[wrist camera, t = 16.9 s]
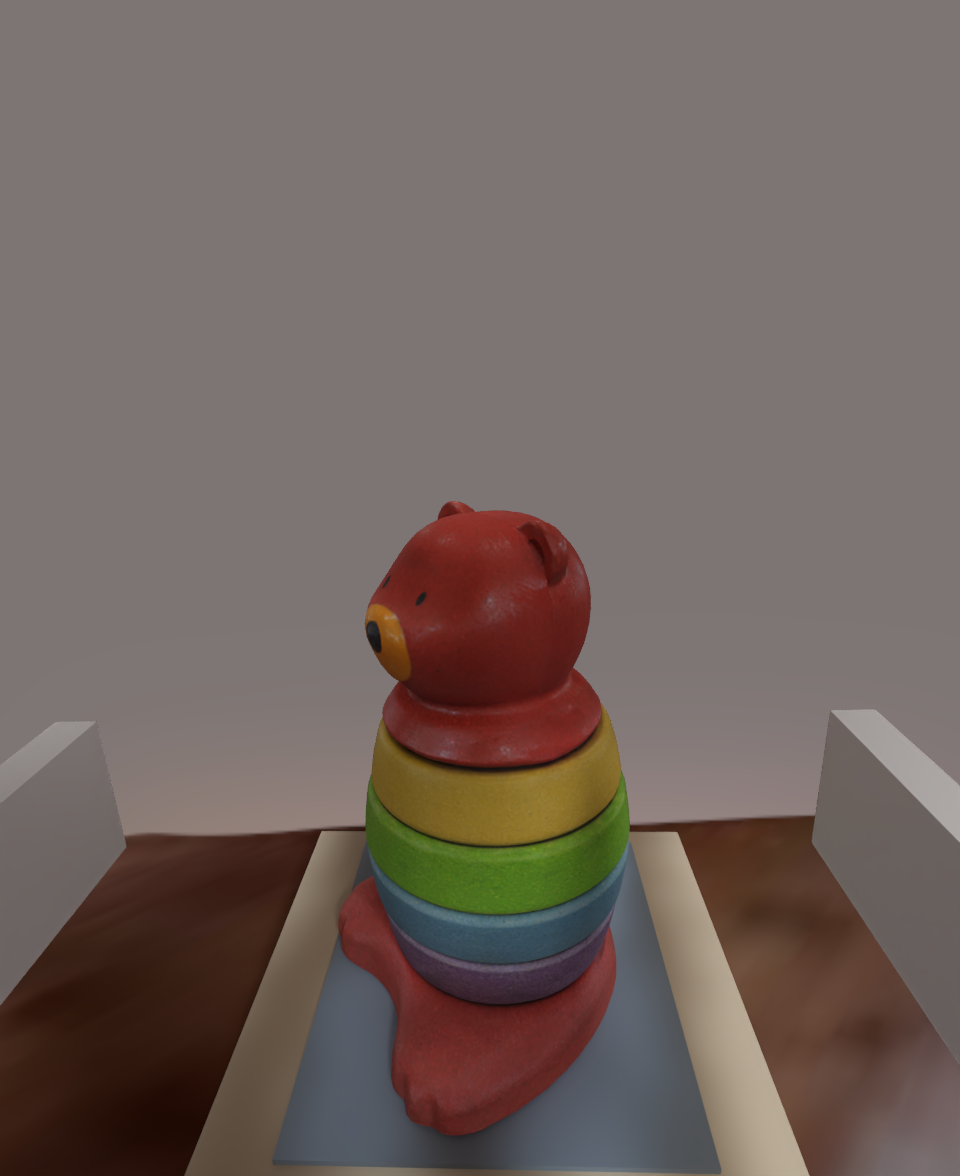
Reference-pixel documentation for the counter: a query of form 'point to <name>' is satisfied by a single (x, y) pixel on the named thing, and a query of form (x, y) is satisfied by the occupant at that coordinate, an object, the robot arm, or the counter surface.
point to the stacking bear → (488, 819)
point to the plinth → (551, 1120)
